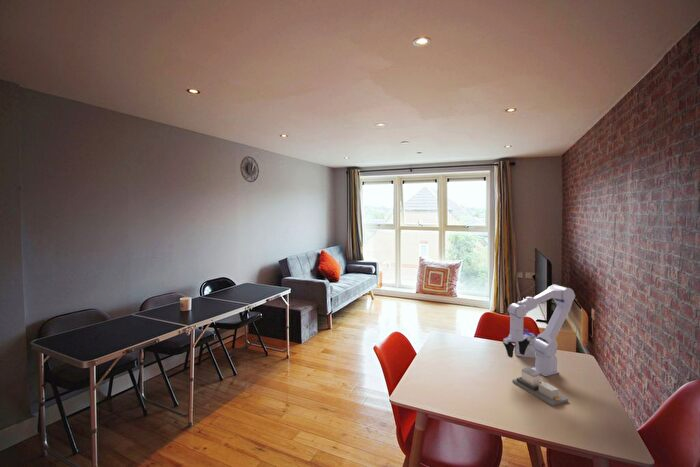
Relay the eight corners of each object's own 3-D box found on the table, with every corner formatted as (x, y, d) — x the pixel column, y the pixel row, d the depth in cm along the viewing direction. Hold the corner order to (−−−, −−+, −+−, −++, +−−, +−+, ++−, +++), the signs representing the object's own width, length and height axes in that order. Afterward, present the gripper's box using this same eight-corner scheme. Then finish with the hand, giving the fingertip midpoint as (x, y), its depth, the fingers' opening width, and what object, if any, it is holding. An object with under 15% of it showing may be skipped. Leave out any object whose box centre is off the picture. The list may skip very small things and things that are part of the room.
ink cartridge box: (533, 354, 176) (534, 328, 175) (535, 358, 171) (536, 332, 170) (513, 351, 179) (514, 327, 179) (515, 356, 174) (516, 330, 173)
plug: (528, 379, 147) (528, 367, 147) (539, 386, 141) (540, 373, 141) (521, 381, 146) (521, 368, 145) (533, 388, 140) (533, 375, 140)
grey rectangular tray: (526, 378, 150) (526, 369, 150) (568, 401, 132) (568, 391, 131) (512, 382, 147) (512, 372, 147) (552, 406, 129) (553, 395, 128)
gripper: (520, 323, 159) (520, 349, 160) (498, 327, 155) (498, 354, 155) (533, 328, 153) (532, 355, 154) (510, 332, 148) (509, 360, 149)
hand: (516, 355), depth 154 cm, fingers open, 7 cm apart
